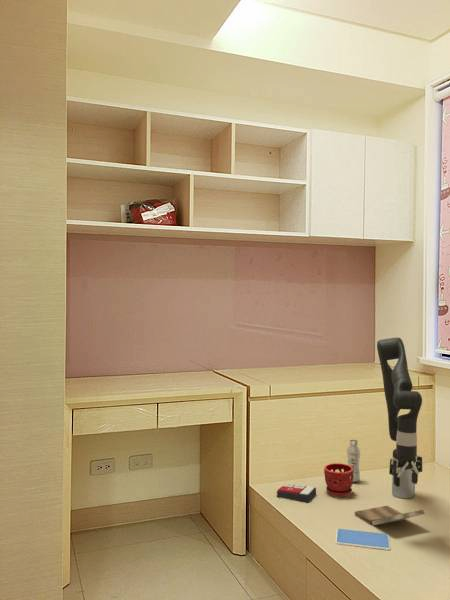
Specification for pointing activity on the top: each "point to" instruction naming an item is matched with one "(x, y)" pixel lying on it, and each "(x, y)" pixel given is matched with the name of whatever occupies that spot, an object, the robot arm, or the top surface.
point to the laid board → (376, 513)
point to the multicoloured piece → (297, 492)
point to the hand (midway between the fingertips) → (405, 484)
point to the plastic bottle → (354, 459)
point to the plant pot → (338, 479)
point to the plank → (398, 517)
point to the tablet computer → (362, 539)
